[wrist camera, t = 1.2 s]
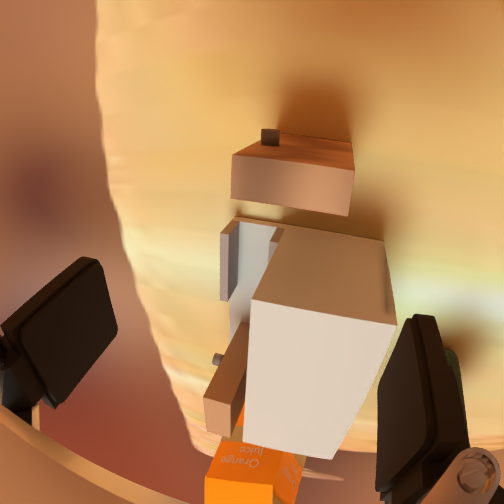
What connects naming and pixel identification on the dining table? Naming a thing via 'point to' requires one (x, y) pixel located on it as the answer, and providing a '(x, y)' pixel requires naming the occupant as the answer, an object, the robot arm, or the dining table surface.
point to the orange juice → (252, 472)
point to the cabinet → (298, 334)
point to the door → (295, 172)
